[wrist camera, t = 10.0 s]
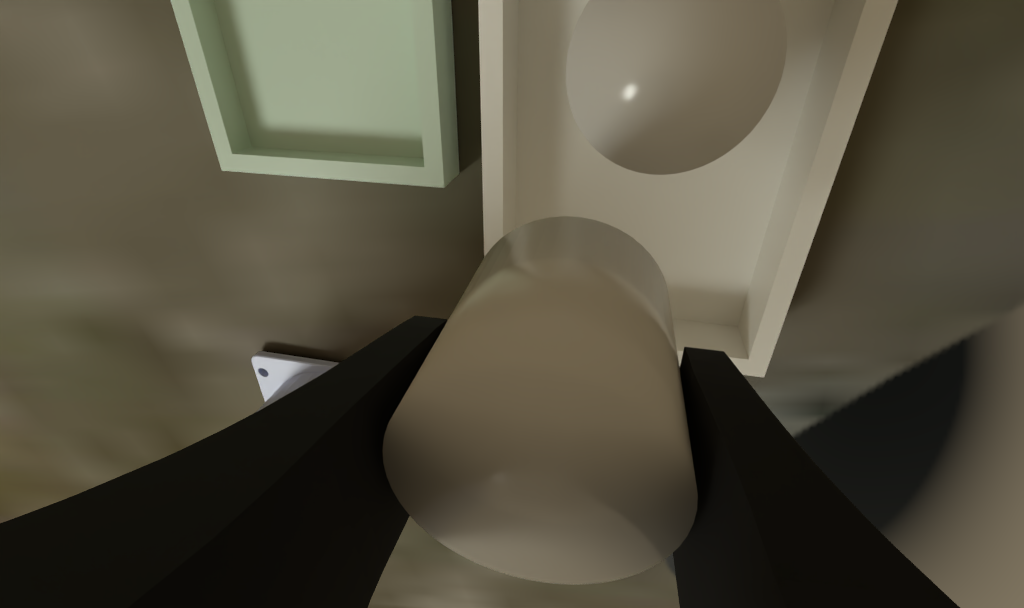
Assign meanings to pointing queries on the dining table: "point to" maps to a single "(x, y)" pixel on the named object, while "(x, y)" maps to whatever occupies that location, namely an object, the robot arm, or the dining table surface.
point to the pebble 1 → (552, 413)
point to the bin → (688, 195)
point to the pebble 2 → (673, 78)
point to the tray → (327, 87)
